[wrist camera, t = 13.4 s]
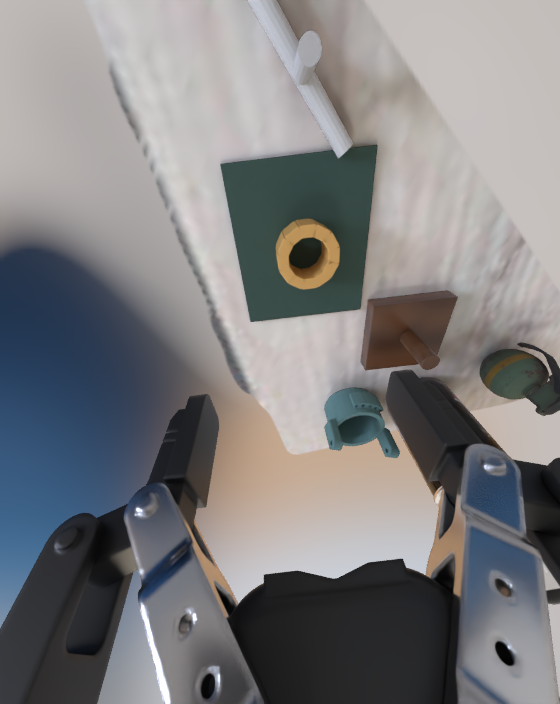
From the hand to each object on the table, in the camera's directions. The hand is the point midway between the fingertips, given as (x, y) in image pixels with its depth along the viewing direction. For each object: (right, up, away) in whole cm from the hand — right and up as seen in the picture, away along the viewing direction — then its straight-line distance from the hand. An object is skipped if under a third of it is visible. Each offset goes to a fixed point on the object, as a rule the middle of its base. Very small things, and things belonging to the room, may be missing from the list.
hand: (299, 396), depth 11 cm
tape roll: (+2, +13, +15) cm, 20 cm away
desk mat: (+2, +13, +16) cm, 21 cm away
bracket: (+11, -7, +31) cm, 34 cm away
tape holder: (+16, +5, +23) cm, 28 cm away
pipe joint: (+1, +23, +8) cm, 25 cm away
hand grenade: (+32, +1, +27) cm, 42 cm away
